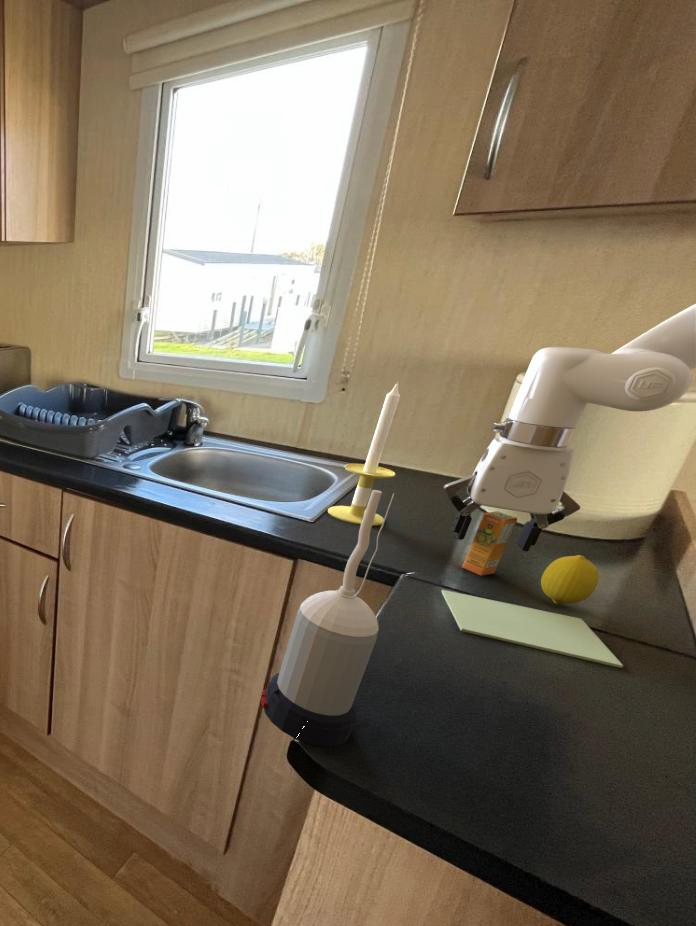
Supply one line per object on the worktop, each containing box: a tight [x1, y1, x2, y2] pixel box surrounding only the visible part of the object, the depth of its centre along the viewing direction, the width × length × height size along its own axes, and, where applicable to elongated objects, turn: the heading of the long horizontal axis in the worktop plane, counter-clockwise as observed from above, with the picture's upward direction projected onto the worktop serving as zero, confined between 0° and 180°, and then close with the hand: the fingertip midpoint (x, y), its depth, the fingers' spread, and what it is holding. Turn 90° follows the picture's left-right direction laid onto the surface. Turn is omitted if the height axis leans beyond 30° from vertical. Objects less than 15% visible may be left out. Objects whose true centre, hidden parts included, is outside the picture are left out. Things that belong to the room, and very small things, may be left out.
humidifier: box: [260, 489, 395, 748], centre depth 52 cm, size 8×8×25 cm
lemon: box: [540, 554, 599, 606], centre depth 79 cm, size 6×6×8 cm
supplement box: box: [461, 510, 518, 577], centre depth 88 cm, size 3×3×10 cm
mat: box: [440, 589, 624, 669], centre depth 75 cm, size 16×12×1 cm
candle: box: [327, 380, 401, 527], centre depth 106 cm, size 10×10×27 cm
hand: (489, 541), depth 88 cm, fingers open, 7 cm apart
